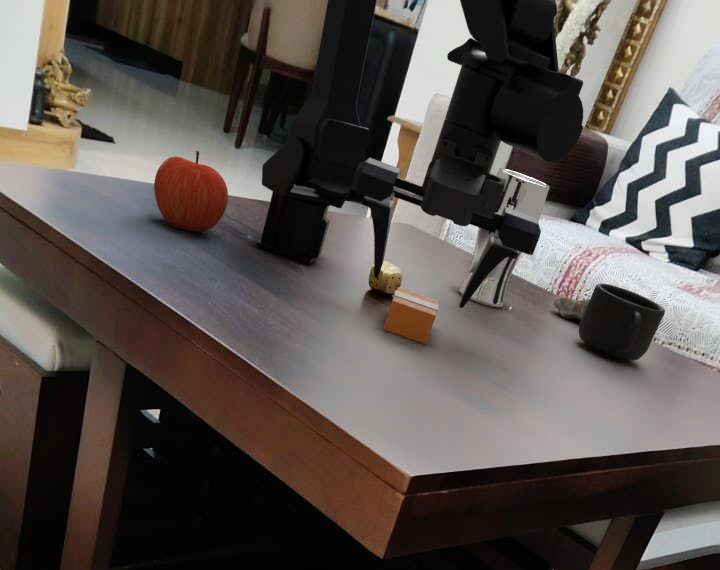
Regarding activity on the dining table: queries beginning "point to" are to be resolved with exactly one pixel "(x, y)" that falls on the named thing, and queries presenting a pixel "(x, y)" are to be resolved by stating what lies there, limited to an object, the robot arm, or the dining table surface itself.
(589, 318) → the mug
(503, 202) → the silver metal vase
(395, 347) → the dining table surface
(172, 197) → the apple
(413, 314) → the small cardboard box
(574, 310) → the rock
